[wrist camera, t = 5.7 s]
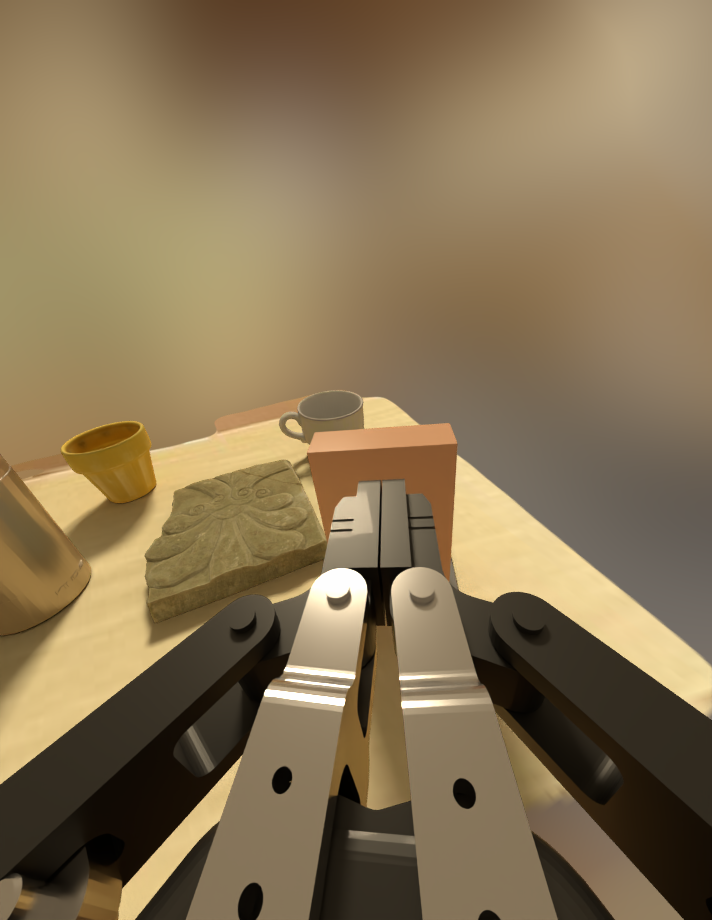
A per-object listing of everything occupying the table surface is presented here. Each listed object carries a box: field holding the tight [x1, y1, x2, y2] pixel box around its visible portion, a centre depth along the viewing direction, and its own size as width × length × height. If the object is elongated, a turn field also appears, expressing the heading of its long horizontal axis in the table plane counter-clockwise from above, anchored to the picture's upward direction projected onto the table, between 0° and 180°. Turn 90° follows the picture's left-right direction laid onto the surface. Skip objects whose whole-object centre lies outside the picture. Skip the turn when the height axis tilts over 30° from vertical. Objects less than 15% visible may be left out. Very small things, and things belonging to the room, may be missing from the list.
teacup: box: [279, 390, 364, 445], centre depth 55 cm, size 14×11×8 cm
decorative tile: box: [145, 460, 327, 623], centre depth 41 cm, size 19×20×4 cm
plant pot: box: [61, 421, 156, 503], centre depth 49 cm, size 10×10×10 cm
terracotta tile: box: [307, 423, 457, 582], centre depth 27 cm, size 10×3×16 cm, turn 86°
